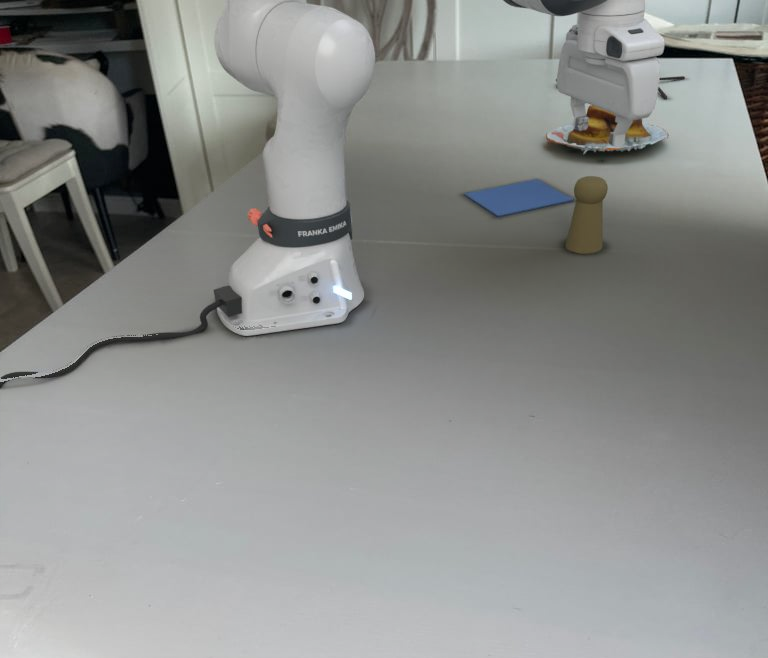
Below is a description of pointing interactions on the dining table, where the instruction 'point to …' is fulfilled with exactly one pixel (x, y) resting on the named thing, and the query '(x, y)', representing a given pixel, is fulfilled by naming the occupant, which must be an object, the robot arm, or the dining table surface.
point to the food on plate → (605, 133)
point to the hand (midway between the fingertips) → (597, 137)
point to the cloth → (518, 197)
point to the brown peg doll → (587, 216)
